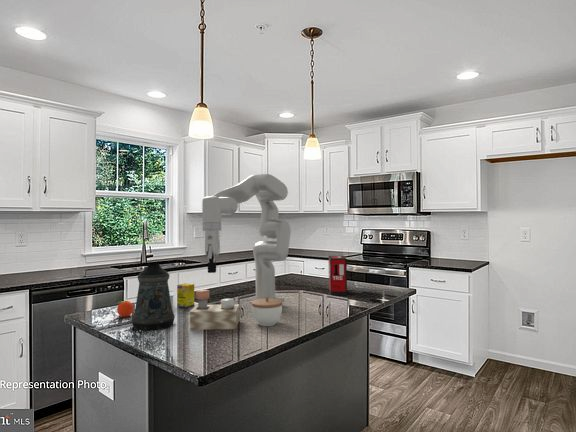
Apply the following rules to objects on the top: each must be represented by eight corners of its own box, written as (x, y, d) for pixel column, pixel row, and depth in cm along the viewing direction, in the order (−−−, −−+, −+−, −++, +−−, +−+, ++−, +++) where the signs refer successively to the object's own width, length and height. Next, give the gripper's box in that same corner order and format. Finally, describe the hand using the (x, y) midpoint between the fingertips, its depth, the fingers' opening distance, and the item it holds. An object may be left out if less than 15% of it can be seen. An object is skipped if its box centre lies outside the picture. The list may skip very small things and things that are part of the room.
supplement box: (177, 307, 194) (176, 284, 194) (185, 304, 199) (185, 282, 199) (186, 308, 191) (186, 285, 191) (194, 305, 197) (194, 283, 197)
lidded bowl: (266, 318, 172) (266, 292, 172) (288, 323, 164) (288, 296, 164) (245, 324, 162) (245, 297, 162) (268, 330, 154) (268, 301, 154)
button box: (239, 320, 168) (238, 304, 168) (235, 329, 156) (235, 311, 156) (196, 321, 168) (196, 304, 168) (189, 329, 156) (189, 311, 156)
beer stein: (138, 334, 151) (137, 268, 151) (125, 323, 166) (124, 263, 166) (180, 326, 160) (180, 264, 160) (164, 316, 176) (164, 260, 176)
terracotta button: (210, 311, 164) (210, 289, 164) (208, 314, 159) (207, 291, 159) (197, 311, 164) (197, 289, 164) (195, 314, 159) (194, 292, 159)
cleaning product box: (346, 295, 219) (346, 258, 219) (330, 295, 220) (330, 258, 220) (343, 289, 236) (343, 255, 236) (328, 289, 236) (328, 255, 236)
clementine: (113, 319, 173) (113, 302, 173) (115, 315, 179) (115, 299, 179) (133, 317, 175) (132, 301, 175) (134, 314, 181) (134, 298, 181)
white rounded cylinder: (234, 320, 165) (234, 298, 164) (233, 323, 159) (233, 301, 159) (222, 320, 164) (222, 298, 164) (220, 323, 159) (220, 301, 159)
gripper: (218, 227, 154) (218, 275, 154) (223, 226, 169) (223, 270, 169) (199, 227, 154) (199, 275, 154) (205, 226, 169) (205, 270, 169)
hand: (212, 272), depth 161 cm, fingers closed
